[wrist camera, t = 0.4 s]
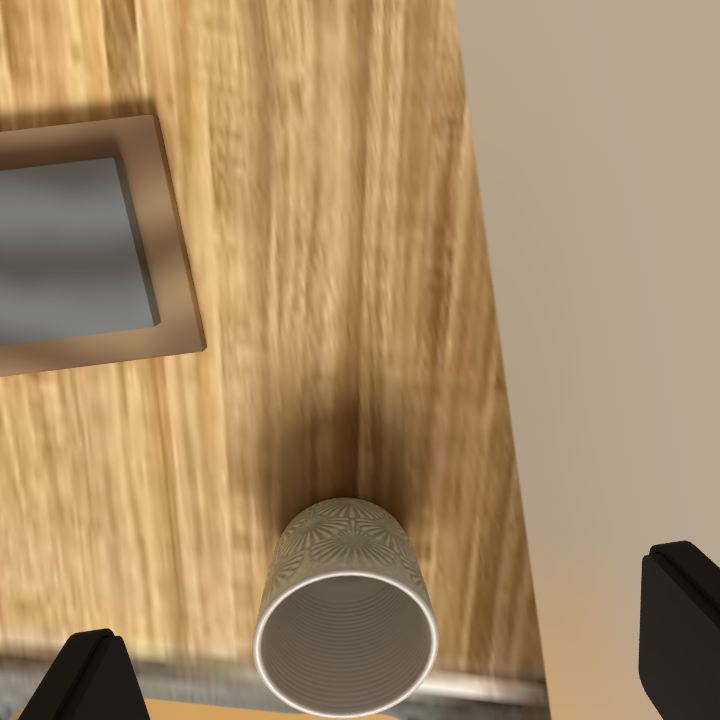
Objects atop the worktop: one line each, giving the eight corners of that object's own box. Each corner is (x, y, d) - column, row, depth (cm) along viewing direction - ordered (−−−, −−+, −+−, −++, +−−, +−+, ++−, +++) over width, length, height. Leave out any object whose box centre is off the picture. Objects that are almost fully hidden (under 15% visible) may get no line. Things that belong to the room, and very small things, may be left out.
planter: (431, 577, 45) (461, 686, 34) (302, 620, 45) (294, 741, 35) (387, 461, 41) (405, 543, 31) (248, 509, 42) (220, 607, 32)
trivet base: (-84, 146, 33) (-119, 140, 30) (158, 117, 33) (143, 109, 31) (-6, 374, 38) (-30, 385, 35) (206, 347, 38) (197, 356, 35)
